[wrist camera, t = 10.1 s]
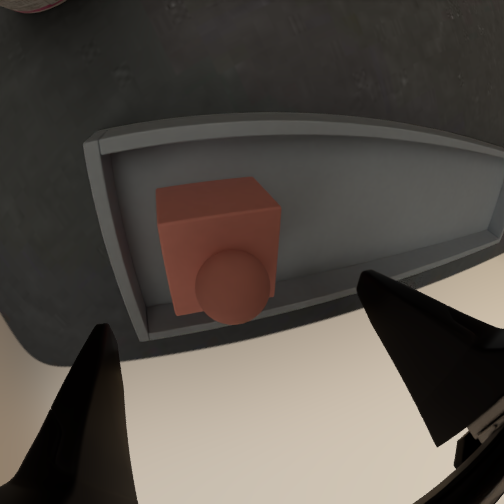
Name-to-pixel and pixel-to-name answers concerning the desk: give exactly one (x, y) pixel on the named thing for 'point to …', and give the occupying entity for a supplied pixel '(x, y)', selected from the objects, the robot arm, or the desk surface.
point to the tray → (298, 201)
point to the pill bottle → (30, 5)
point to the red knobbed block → (219, 247)
